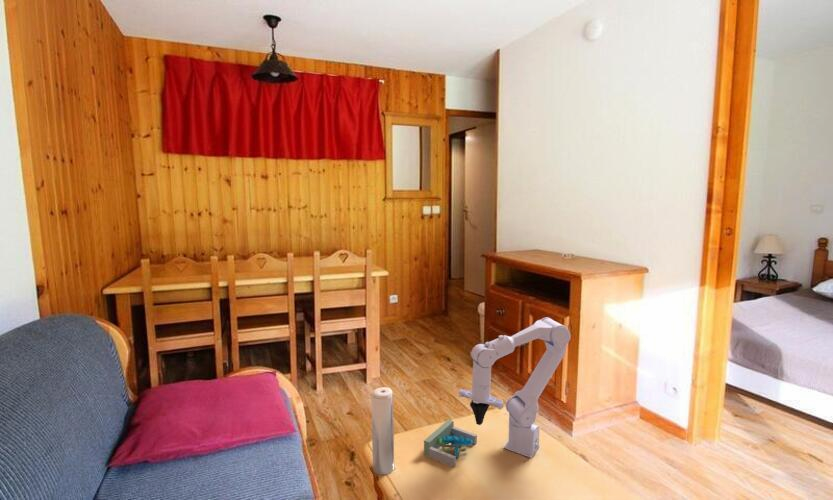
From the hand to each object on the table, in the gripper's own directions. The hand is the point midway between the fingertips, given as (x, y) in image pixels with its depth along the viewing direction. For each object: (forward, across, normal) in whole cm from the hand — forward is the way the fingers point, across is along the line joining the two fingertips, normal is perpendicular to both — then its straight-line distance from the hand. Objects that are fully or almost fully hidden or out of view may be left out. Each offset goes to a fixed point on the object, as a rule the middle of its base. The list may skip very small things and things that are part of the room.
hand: (479, 423), depth 135 cm
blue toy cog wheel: (+11, -7, -3) cm, 13 cm away
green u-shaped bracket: (+11, -8, -3) cm, 13 cm away
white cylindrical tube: (+12, -21, -22) cm, 33 cm away
